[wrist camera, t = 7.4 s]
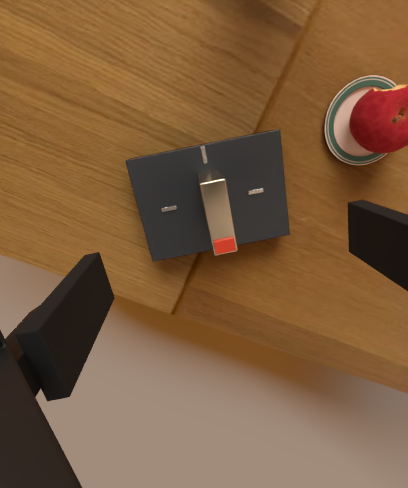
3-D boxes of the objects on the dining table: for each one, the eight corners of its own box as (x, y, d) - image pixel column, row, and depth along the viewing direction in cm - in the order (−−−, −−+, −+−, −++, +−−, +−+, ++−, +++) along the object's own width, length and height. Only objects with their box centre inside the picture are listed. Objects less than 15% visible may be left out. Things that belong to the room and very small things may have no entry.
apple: (305, 124, 29) (337, 120, 23) (371, 56, 27) (425, 31, 21) (354, 180, 31) (395, 191, 25) (418, 120, 29) (480, 115, 23)
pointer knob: (196, 172, 27) (199, 184, 20) (216, 168, 27) (225, 178, 20) (208, 229, 29) (214, 257, 22) (226, 225, 29) (238, 252, 22)
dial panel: (155, 251, 32) (152, 262, 29) (131, 158, 29) (124, 160, 26) (281, 226, 32) (290, 235, 29) (271, 130, 29) (280, 129, 26)
